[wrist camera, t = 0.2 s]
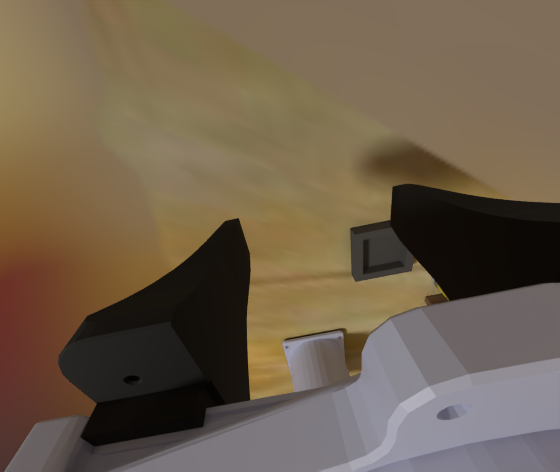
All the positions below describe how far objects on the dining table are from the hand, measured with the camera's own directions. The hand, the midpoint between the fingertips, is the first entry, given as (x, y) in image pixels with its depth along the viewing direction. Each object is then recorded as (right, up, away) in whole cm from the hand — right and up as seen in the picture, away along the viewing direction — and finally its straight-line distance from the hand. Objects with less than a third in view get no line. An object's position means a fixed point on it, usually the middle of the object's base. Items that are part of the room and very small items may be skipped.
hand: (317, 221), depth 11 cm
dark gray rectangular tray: (+9, -2, +14) cm, 16 cm away
